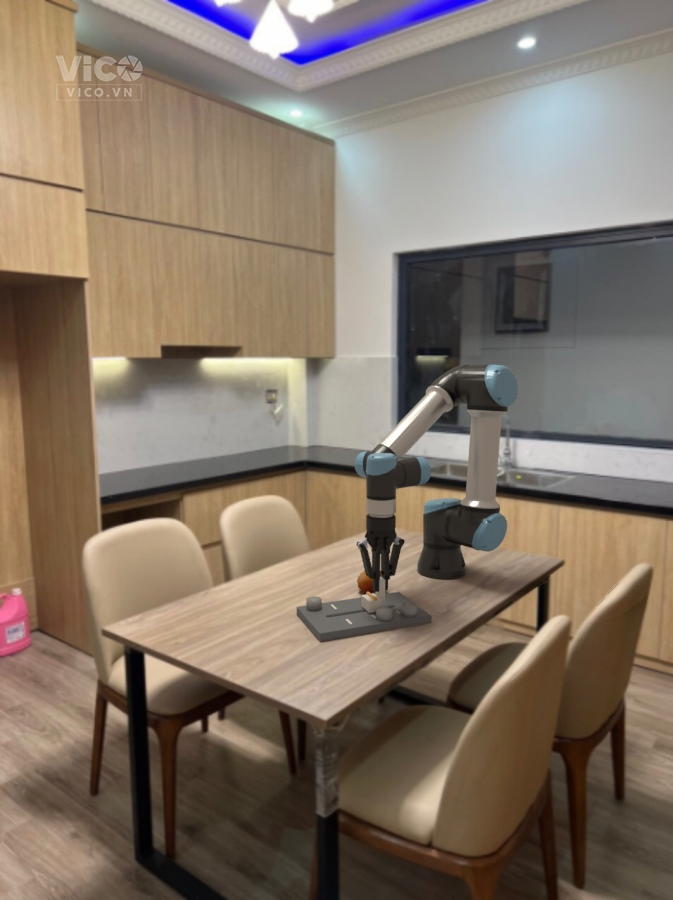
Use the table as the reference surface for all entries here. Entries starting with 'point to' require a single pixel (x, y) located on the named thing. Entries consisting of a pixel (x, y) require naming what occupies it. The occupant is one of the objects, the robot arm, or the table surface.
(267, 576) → the table surface
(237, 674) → the table surface
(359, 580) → the fruit
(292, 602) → the table surface
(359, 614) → the console
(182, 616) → the table surface
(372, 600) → the fader
